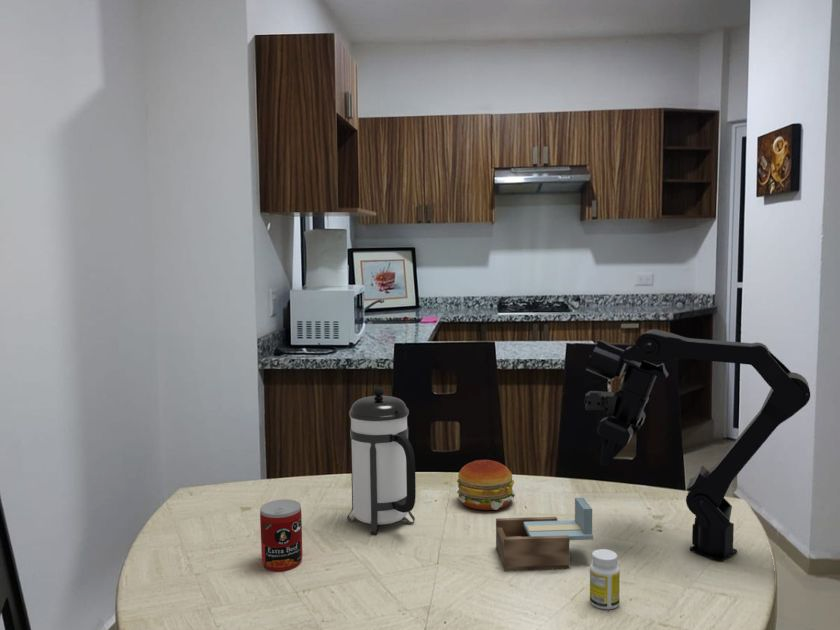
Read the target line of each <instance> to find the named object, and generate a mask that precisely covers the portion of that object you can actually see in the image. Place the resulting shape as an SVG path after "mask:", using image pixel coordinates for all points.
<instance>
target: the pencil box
mask: <svg viewBox="0 0 840 630" xmlns="http://www.w3.org/2000/svg"><path fill="white" fill-rule="evenodd" d="M532 521H558V517H557V516H540V517H539V516H538V517H535V516H533V517H505V518H503V517H502V518H495V548H496V551H497V554H498V557H499V560H500V562H501V565H502V568H503V571H504V572H518V571H521V572H522V571H549V570H550V571H551V570H552V571H553V570H570V540H569V536H568V535H564V536H532V537H529V536H528V534H527V532H526V530H525V528H524V526H523V522H532Z"/></svg>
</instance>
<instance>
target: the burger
mask: <svg viewBox="0 0 840 630" xmlns="http://www.w3.org/2000/svg"><path fill="white" fill-rule="evenodd" d="M457 475H458V477H457V478H458V479H457V480H456V483H458V484H457V487H458V490H457V492H456V493H457V494H458V499H459V501H460V502H461V503H462V505H464V506H466V507H468V508H471V509H476V510H484V511H489V510H490V511H492V510H499V509H502V508H505V507H506V506H508V505H509V504H510V502H511V500H514V499H515V496H516V494H515V491H514V489H513V485H514V484H515V481H514V479H513V474H512V471H510V469H509V468H508V467H507V466H506V465H504V464H502V463H501V462H500V461H495V460H490V459H478V460H473V461H471V462H468V463H467V464H465V465H464V466H463V467H461V469H460V470H459V471H458V474H457Z"/></svg>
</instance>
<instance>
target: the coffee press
mask: <svg viewBox="0 0 840 630" xmlns="http://www.w3.org/2000/svg"><path fill="white" fill-rule="evenodd" d="M372 392H373V394H374V395H371V396H370V395H369V396H365V397H362V398H359V399H357V400H356V401H354V403H353V404H352V405H351V408H350V410H349V411H348V415H349V418H350V427H349V430H350V431H349V432H350V433H349V434H350V435H349V436H350V462H351V465H350V466H351V467H350V469H351V511H350V512H349V514H348V515H347V518H346V520H347V521H348V522H350V523H351V522H353V521H355V520H356V519H357V520H358V521H360V522H362V523H365V524H367V525H368V524H369V525H370V529H369V533H370V535H373V536H377V535H378V534H379V527H380V526H381V525H389V524H393V523H397V522H399V521H401V520H403V521H405V522H406V523H407V524H408V525H413V524H414V523H415V521H416V518H415V516H414V515H413V513H412V510H413V509H414V507H415V504H416V493H417V492H416V491H417V490H416V487H417V486H416V483H417V482H416V460H415V459H416V458H415V453H414V448H413V445H412V443H411V441H410V440H409V426H408V416H409V414H410V413H409V412H410V410H409V408H408V407H407V406H406V403H405V402H404V401H403V400H402V399H401V398H398V397H395V396H391V395H390V396H389V395H384V393H385V390H384V388H383V386H382V387H381V386H375V387H374V388H373V390H372ZM352 512H353V515H354V517H353V518H351V517H350V515H351V514H352ZM407 515H409V517H410V518H411V519H412V521H410V520H409V519H408V518H407V517H406V516H407Z"/></svg>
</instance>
